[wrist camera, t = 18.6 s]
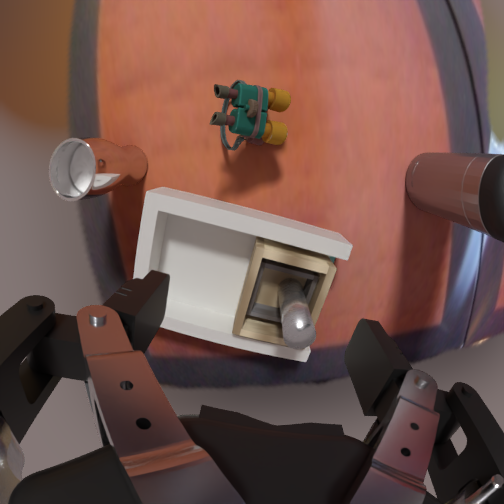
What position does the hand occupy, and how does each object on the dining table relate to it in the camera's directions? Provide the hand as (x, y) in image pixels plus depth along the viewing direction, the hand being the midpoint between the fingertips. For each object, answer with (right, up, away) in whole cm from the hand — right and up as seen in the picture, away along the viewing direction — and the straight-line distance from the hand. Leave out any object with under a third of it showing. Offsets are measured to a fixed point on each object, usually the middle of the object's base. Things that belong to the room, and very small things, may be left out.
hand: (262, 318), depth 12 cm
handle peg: (+5, -3, +29) cm, 30 cm away
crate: (+4, -2, +30) cm, 30 cm away
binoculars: (0, +21, +26) cm, 33 cm away
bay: (-3, 0, +31) cm, 32 cm away
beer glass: (-18, +15, +28) cm, 37 cm away
